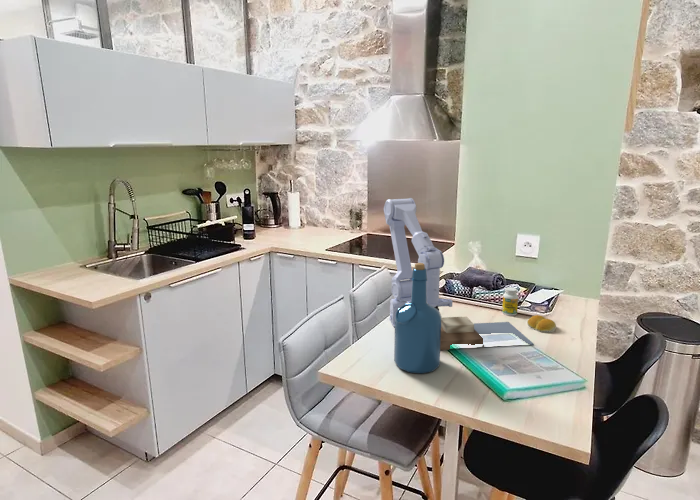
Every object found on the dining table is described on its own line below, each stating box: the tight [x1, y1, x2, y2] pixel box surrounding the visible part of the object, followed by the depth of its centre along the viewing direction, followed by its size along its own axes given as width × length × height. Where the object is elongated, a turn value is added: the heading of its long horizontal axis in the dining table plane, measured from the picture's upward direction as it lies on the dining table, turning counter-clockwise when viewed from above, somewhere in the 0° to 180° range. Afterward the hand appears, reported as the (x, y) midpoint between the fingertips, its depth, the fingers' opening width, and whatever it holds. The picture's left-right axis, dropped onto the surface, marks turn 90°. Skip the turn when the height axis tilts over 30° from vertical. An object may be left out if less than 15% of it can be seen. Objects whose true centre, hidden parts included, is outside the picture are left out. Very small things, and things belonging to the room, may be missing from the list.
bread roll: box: [526, 314, 557, 333], centre depth 154 cm, size 8×9×4 cm
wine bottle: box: [393, 262, 443, 374], centre depth 126 cm, size 14×13×30 cm
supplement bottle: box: [501, 287, 519, 317], centre depth 166 cm, size 5×5×10 cm
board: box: [440, 327, 483, 351], centre depth 147 cm, size 14×18×3 cm
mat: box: [472, 321, 535, 346], centre depth 149 cm, size 16×18×1 cm
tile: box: [441, 316, 474, 333], centre depth 146 cm, size 9×7×2 cm
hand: (428, 327), depth 146 cm, fingers closed
